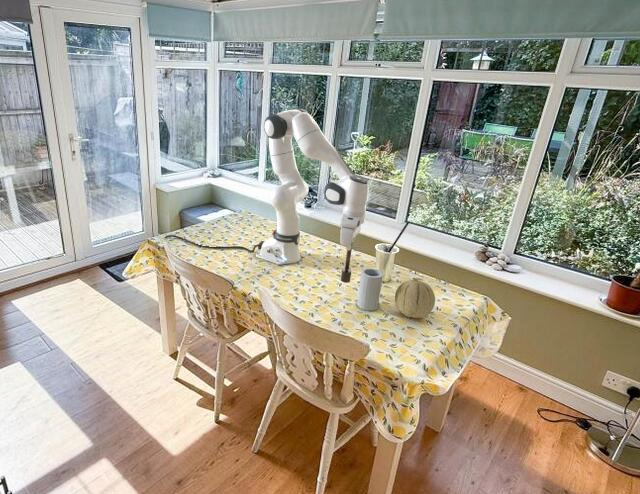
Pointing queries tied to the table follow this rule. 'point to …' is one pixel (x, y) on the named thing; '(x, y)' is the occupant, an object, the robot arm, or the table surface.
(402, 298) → the cantaloupe
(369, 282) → the grey hollow cylinder
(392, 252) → the glass
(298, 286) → the table surface
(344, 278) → the brown pestle
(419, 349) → the table surface
